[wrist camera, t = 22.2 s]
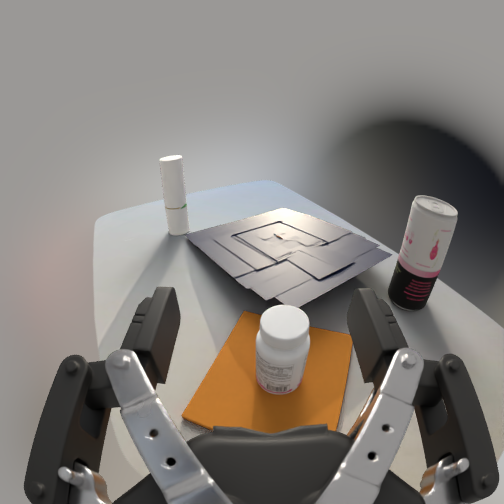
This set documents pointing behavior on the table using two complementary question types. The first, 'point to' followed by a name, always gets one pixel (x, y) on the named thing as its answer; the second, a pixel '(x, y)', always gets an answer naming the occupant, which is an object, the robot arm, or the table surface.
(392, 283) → the beverage can
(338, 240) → the papers
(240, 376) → the amber mat
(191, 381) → the table surface
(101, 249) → the table surface
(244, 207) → the table surface
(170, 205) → the tube
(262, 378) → the pill bottle
